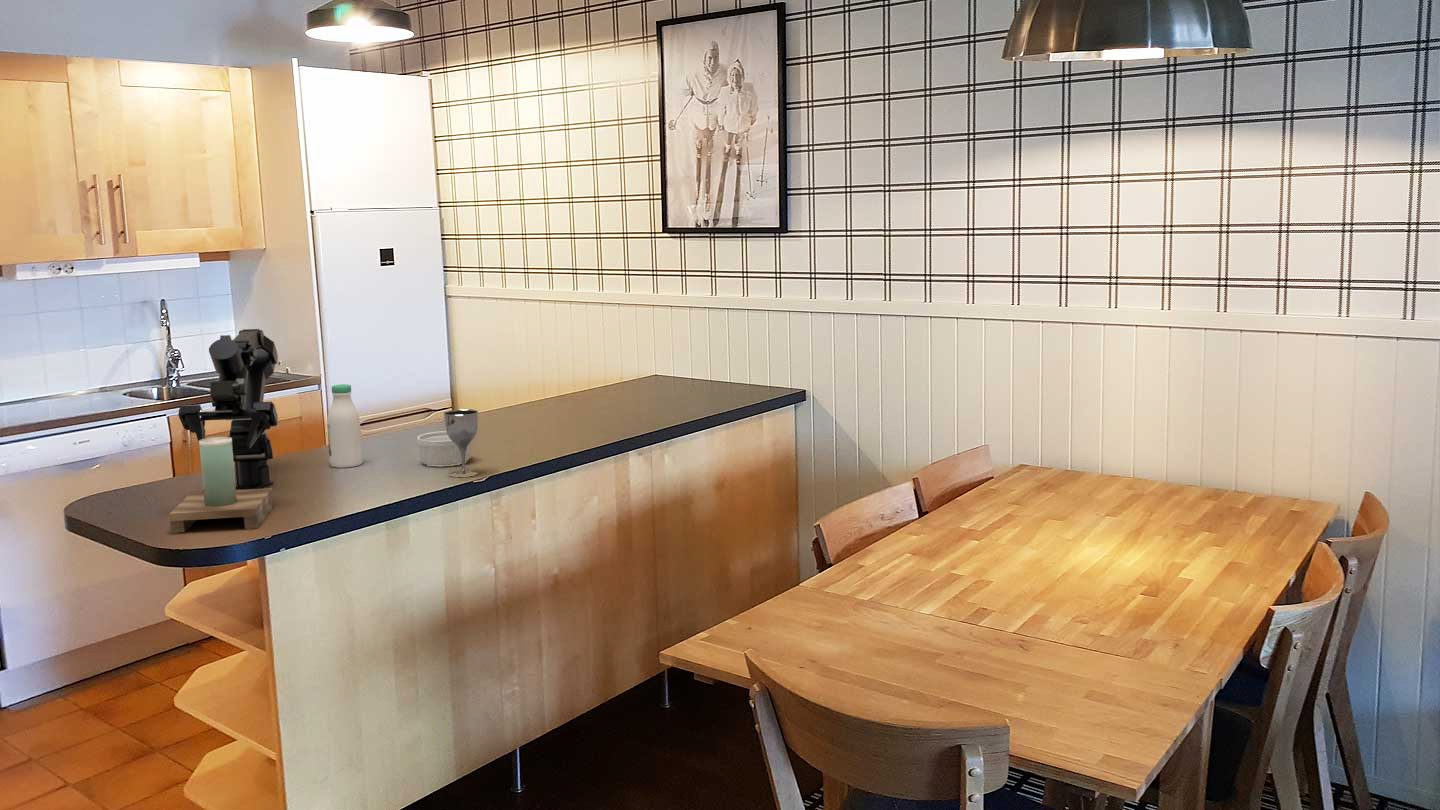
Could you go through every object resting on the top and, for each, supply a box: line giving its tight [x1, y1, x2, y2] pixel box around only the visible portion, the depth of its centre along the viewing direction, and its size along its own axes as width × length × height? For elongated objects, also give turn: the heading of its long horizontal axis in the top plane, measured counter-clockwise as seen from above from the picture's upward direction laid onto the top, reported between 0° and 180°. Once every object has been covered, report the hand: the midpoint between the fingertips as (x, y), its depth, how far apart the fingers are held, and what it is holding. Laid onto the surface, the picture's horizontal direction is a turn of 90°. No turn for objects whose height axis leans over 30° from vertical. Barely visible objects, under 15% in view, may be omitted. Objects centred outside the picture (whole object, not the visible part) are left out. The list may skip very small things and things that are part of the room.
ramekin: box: [416, 430, 472, 465], centre depth 289 cm, size 13×13×7 cm
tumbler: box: [198, 436, 237, 507], centre depth 233 cm, size 6×6×13 cm
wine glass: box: [443, 408, 479, 474], centre depth 275 cm, size 8×8×15 cm
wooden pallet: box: [169, 487, 274, 534], centre depth 237 cm, size 18×16×4 cm
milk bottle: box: [326, 384, 363, 469], centre depth 287 cm, size 8×8×20 cm
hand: (225, 448), depth 241 cm, fingers open, 9 cm apart
